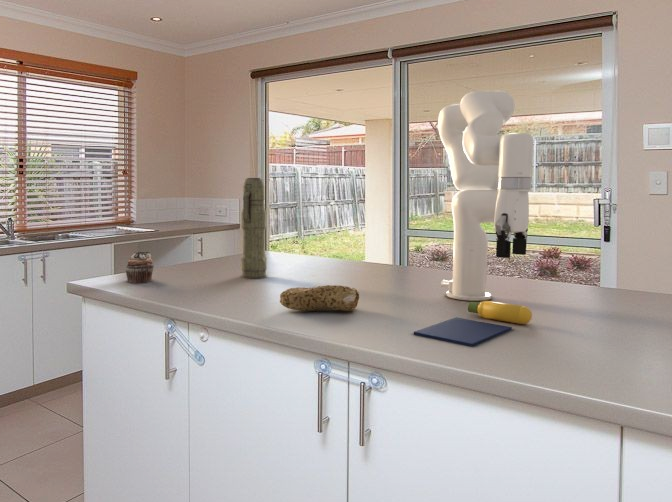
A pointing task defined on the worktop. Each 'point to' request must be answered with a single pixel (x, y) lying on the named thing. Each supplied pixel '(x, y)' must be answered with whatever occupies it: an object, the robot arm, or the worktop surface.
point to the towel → (463, 331)
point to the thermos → (253, 229)
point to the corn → (501, 311)
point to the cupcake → (139, 268)
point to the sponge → (320, 298)
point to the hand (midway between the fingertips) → (511, 255)
